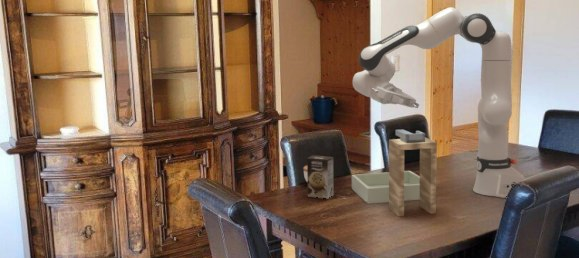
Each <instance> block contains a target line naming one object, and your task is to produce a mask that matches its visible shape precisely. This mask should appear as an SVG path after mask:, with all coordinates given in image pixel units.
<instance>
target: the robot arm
mask: <svg viewBox="0 0 579 258" xmlns="http://www.w3.org/2000/svg"><path fill="white" fill-rule="evenodd" d="M456 35H459V36H461V37H462V38H464V40H466V41H468V43H469V42H470V43H474V44H475V43H476V44H479V45H480V47H481V67H480V89H481V90H480V91H481V98H480V100H479V101H478V104H477V128H478V129H477V130H478V131H477V132H478V133H477V134H478V143H477V144H478V149H477V150H478V151H477V152H478V153H477V157H476V176H475V181H474V186H473V188H472V191H473V192H474V193H476V194H478V195H483V196H489V197H497V198H502V199H503V198H507V197H506V196H507V194H508V192H509V190H510V188H511V187H512V186H513V185H514V184H516V183H518V182H520V181H522V180H524V179H525V180H526V178H525V176H524V175H523V174H522V173H520V172H519V171H518V170H516V168H514V167H513V166H512V165H516V164H517V159H516V158H515V159H514V158H510V157H509V156H508V153H509V152H508V151H509V150H508V148H509V137H508V134H509V133H508V122H509V121H510V119H511V118H512V113H513V112H512V111H513V106H512V105H513V101H512V99H513V98H512V95H513V94H512V93H513V92H512V69H513V68H512V64H513V48H512V47H513V46H512V40H511V38H512V37H511V35H510V34H509V33H507V31H506V32H505V31H502V30H496V29H495V27H494V25H493V23H492V21H491V20H490V19H489V17H488V16H486V15H485V14H483V13H480V12H479V13H477V12H476V13H470V14H468V15H463V14H462V13H461V12H460V11H459V10H458V9H457V8H455V7H452V6H451V7H447V8H444V9H442V10H441V11H438V12H436V13H434V14H433V15H432V16H430V17H429V18H428V19H426V20H424V21H423V22H420V23H418V24H414V25H408V26H405V27H404V28H401V29H399V30H397V31H396V32H394V33H392V34H390V35H389V36H387V37H385V38H383V39H381V40H379V41H377V42H374V43H373V44H369V45H367V46H365V47H364V48H363V49H362V50H361V51H360V52H359V53H360V54H359V56H358V65H359V66H361V68H363V69H364V70H362V71H358V72H356V73H354V75H353V77H352V87H353V89H354V90H355V91H356V92H358V93H359V94H360V95H363V96H365V97H367V98H371V99H372V100H373V101H375V102H377V103H380V104H382V105H387V104H388V105H389V104H391V105H401V106H404V107H407V108H415V109H418V108H419V106H420V104H419V103H417V99H416V98H415V97H414V96H411V95H409V94H407V93H405V92H404V91H403V90H402V89H400V88H398V87H397V86H396V85H394V83H391V82H390V81H391V80H392V78H393V77H394V75H395V73H396V65H395V64H394V63H393V61H392V60H391V59H390V58H389V57H387V55H388V54H390V53H392V52H394V51H395V50H397V49H399V48H401V47H403V46H408V45H410V46H415V47H418V48H420V49H422V50H433V49H434V48H436V47H438V46H440V45H441V44H442V43H444V42H446V41H447V40H448V39H450V38H452V37H453V36H456Z"/></svg>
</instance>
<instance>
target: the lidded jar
mask: <svg viewBox="0 0 579 258" xmlns="http://www.w3.org/2000/svg"><path fill="white" fill-rule="evenodd" d="M303 176H304V179H305V181H306V183H308V172H307V165H304V166H303Z"/></svg>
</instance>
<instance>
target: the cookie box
mask: <svg viewBox="0 0 579 258" xmlns="http://www.w3.org/2000/svg"><path fill="white" fill-rule="evenodd" d="M306 161H307V163H306V164H307V165H306V166H307V172H308V182H307V197H308V198H316V197H318V198H317V199H323V198H326V200H328V199H330V198H332V197H333V196H334V157H333V156H323V155H315V154H313V155H311V156H309V157H307V160H306ZM331 196H332V197H331ZM329 197H330V198H329Z"/></svg>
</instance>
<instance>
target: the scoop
mask: <svg viewBox="0 0 579 258" xmlns="http://www.w3.org/2000/svg"><path fill="white" fill-rule="evenodd" d="M395 136H396V137H399V139H400V140H401V141H403V142H405V143H415V142H425V137H426V133H425V132H422V131H420V130H416V131H415V133H413V132H410V131H408V130H405V129H395Z"/></svg>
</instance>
